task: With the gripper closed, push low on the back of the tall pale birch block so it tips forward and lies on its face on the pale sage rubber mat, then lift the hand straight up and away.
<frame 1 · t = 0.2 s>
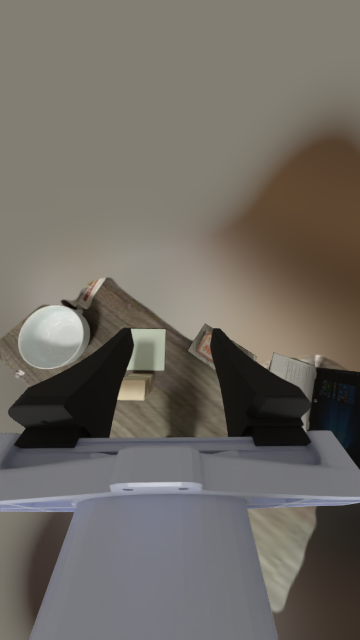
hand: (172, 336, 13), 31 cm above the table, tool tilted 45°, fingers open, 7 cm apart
birch block: (142, 380, 41), on the table
cereal bowl: (71, 338, 44), on the table
packaged product: (221, 353, 43), on the table
laptop: (287, 390, 41), on the table
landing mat: (144, 348, 43), on the table
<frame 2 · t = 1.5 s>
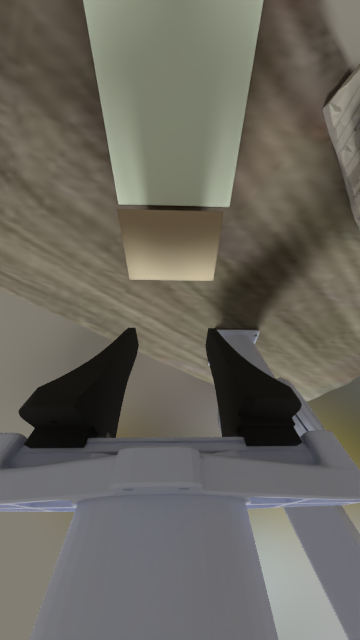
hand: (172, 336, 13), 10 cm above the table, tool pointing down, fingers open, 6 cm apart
birch block: (174, 237, 17), on the table
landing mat: (174, 117, 12), on the table
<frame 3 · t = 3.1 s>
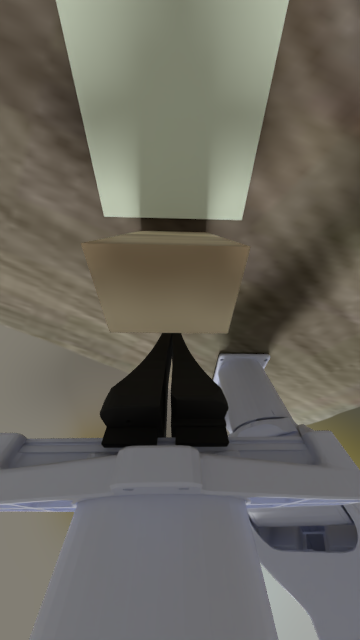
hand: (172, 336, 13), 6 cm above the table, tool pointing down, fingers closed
birch block: (173, 254, 14), on the table
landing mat: (173, 106, 9), on the table
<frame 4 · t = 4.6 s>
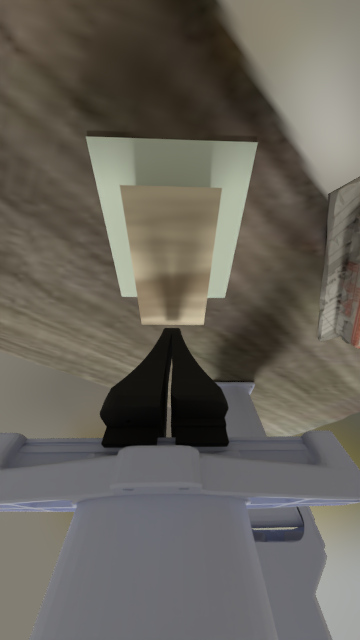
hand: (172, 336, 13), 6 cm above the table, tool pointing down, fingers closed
birch block: (173, 313, 16), point 2 cm above the table, tilted 90°, touching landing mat
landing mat: (173, 237, 14), on the table
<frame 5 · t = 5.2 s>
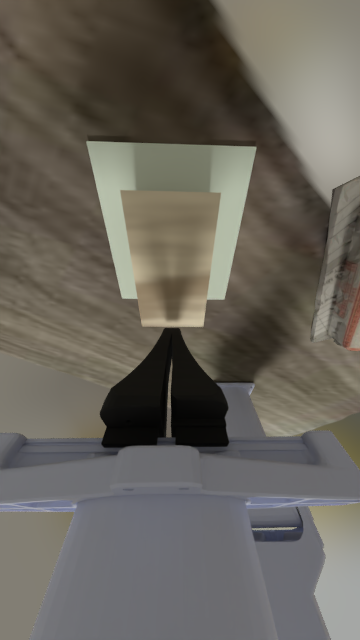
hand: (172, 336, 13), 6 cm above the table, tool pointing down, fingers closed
birch block: (173, 315, 16), point 2 cm above the table, tilted 90°, touching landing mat
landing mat: (173, 240, 14), on the table
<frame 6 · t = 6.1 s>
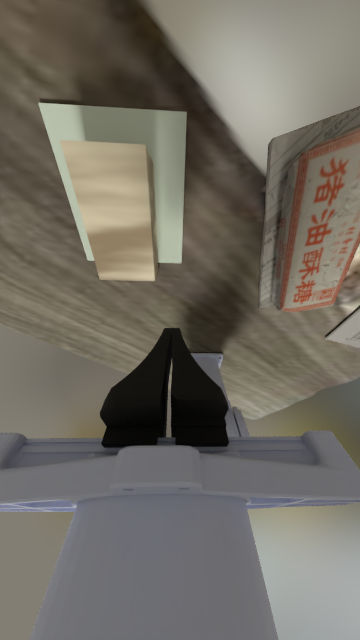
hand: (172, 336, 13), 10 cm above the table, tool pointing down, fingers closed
birch block: (132, 274, 17), point 2 cm above the table, tilted 90°, touching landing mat
packaged product: (299, 235, 18), on the table
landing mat: (127, 202, 15), on the table
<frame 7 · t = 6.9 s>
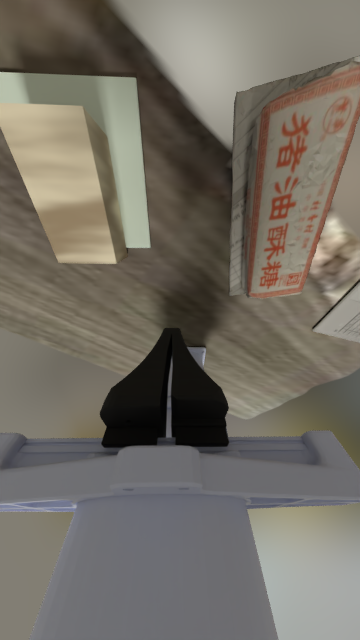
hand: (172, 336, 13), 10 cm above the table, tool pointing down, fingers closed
birch block: (96, 259, 17), point 2 cm above the table, tilted 90°, touching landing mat
packaged product: (270, 216, 17), on the table
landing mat: (86, 181, 15), on the table
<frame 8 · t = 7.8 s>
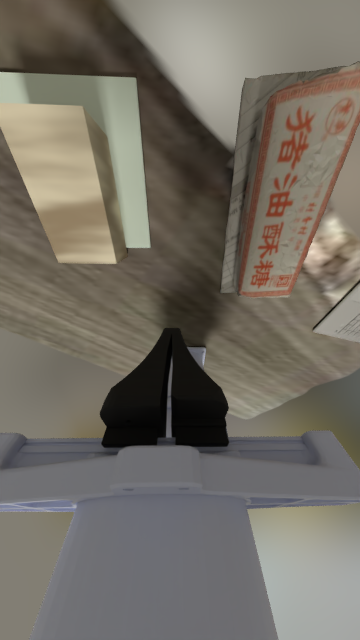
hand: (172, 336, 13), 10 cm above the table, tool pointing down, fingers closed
birch block: (96, 259, 17), point 2 cm above the table, tilted 90°, touching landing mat
packaged product: (267, 216, 17), on the table
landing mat: (86, 181, 15), on the table
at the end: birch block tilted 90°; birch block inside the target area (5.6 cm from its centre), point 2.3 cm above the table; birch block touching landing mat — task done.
